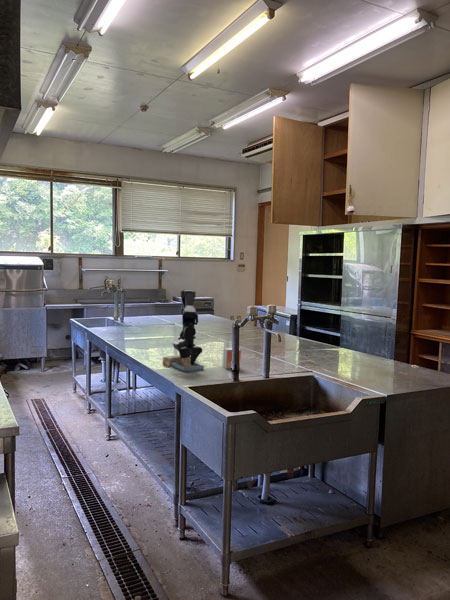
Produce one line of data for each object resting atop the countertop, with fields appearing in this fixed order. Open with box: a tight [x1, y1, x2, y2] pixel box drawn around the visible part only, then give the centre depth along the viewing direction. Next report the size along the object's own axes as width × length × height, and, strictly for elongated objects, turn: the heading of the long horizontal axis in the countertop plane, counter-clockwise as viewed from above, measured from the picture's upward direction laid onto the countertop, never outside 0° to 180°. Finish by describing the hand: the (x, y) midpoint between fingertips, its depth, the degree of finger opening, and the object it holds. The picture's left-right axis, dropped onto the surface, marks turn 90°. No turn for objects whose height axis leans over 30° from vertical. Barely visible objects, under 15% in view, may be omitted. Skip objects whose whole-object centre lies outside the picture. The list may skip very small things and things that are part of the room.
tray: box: [170, 361, 204, 373], centre depth 248 cm, size 14×12×2 cm
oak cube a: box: [181, 357, 193, 367], centre depth 248 cm, size 4×4×4 cm
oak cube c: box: [162, 355, 175, 367], centre depth 252 cm, size 4×4×4 cm
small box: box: [222, 347, 242, 370], centre depth 254 cm, size 8×6×10 cm
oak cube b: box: [171, 354, 181, 362], centre depth 255 cm, size 4×4×4 cm
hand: (187, 363), depth 248 cm, fingers open, 9 cm apart
